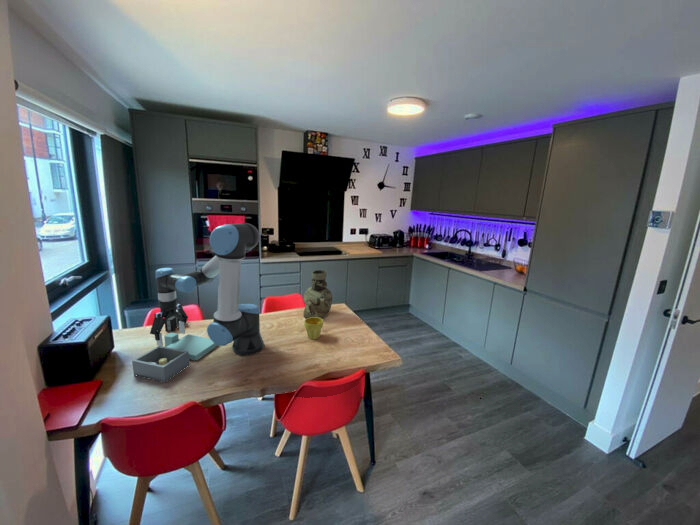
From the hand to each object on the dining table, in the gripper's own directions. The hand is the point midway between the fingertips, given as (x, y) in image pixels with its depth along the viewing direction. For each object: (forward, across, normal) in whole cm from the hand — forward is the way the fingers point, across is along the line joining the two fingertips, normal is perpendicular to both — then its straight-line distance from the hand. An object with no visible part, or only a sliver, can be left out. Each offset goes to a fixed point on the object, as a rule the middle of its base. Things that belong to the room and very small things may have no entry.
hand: (171, 339), depth 144 cm
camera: (+4, -19, -15) cm, 25 cm away
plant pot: (+4, -32, +64) cm, 72 cm away
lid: (+4, 0, +9) cm, 10 cm away
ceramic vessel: (+4, -60, +56) cm, 82 cm away
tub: (+4, +18, +13) cm, 23 cm away
